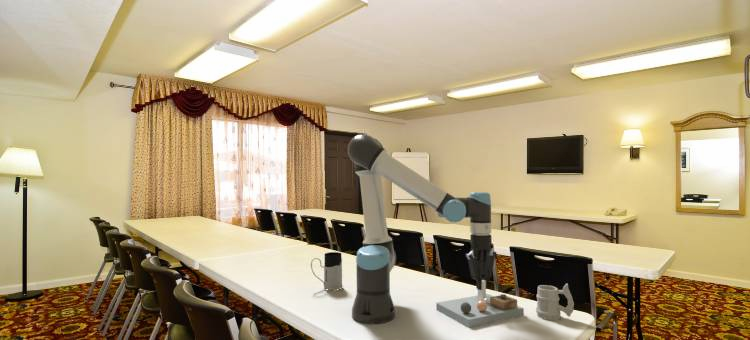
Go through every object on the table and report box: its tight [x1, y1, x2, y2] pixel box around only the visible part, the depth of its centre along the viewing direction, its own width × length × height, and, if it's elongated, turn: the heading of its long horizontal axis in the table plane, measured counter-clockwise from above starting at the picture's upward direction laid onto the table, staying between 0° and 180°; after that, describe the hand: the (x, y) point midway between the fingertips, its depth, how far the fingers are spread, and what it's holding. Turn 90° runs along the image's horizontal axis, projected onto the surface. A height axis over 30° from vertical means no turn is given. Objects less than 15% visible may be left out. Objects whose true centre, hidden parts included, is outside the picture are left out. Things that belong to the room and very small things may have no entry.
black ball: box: [461, 302, 471, 314], centre depth 123 cm, size 4×4×4 cm
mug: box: [535, 283, 575, 321], centre depth 125 cm, size 8×12×12 cm, turn 60°
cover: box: [490, 293, 518, 310], centre depth 129 cm, size 6×6×4 cm
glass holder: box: [310, 251, 344, 291], centre depth 160 cm, size 9×14×15 cm, turn 112°
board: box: [435, 293, 525, 329], centre depth 130 cm, size 24×18×2 cm
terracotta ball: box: [477, 301, 487, 312], centre depth 124 cm, size 4×4×4 cm
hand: (481, 297), depth 134 cm, fingers closed
